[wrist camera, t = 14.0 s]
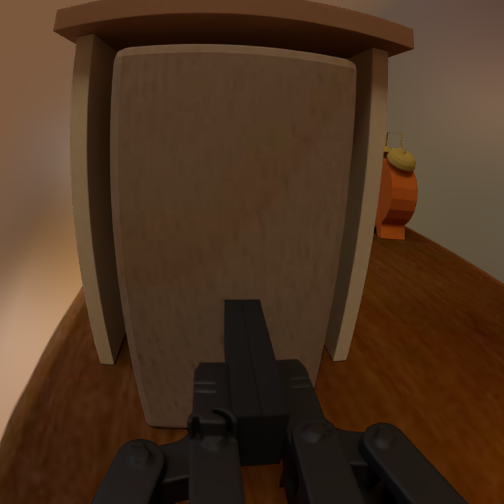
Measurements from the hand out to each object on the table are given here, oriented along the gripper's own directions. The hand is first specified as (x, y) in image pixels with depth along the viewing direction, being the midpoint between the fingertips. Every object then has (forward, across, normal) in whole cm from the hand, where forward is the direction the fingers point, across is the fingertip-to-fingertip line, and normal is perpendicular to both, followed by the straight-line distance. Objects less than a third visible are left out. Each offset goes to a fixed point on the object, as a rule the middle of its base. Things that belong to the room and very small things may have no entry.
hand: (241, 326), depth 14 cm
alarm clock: (+44, +32, -8) cm, 55 cm away
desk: (+11, -1, -8) cm, 14 cm away
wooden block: (+5, -1, -8) cm, 10 cm away
